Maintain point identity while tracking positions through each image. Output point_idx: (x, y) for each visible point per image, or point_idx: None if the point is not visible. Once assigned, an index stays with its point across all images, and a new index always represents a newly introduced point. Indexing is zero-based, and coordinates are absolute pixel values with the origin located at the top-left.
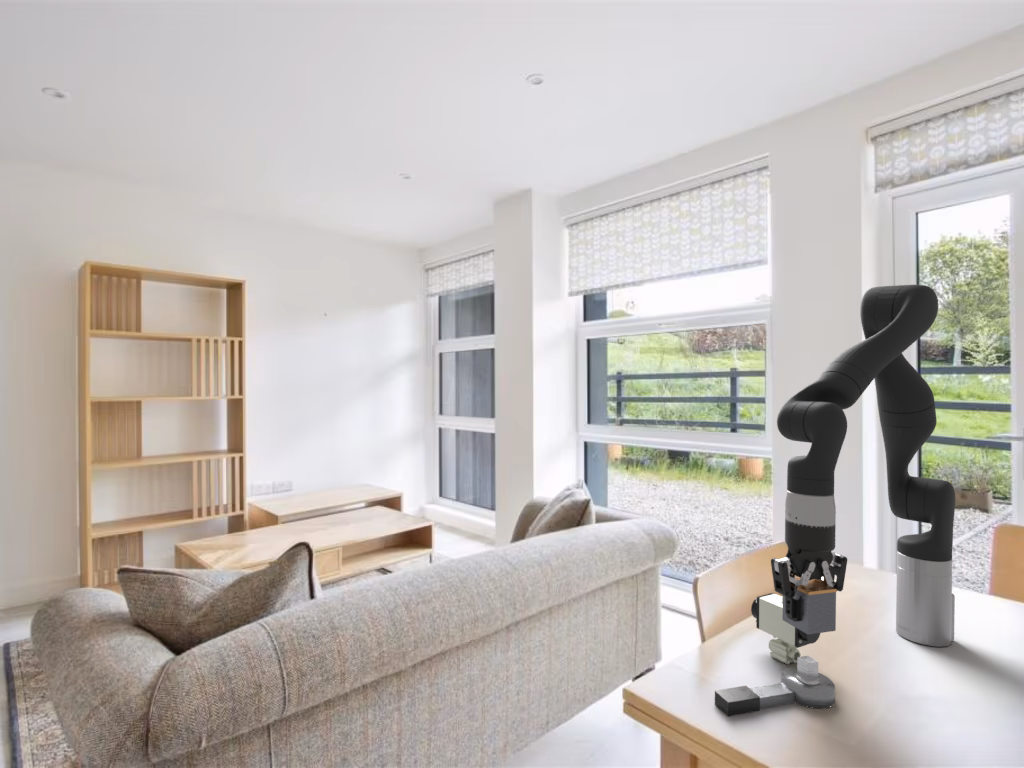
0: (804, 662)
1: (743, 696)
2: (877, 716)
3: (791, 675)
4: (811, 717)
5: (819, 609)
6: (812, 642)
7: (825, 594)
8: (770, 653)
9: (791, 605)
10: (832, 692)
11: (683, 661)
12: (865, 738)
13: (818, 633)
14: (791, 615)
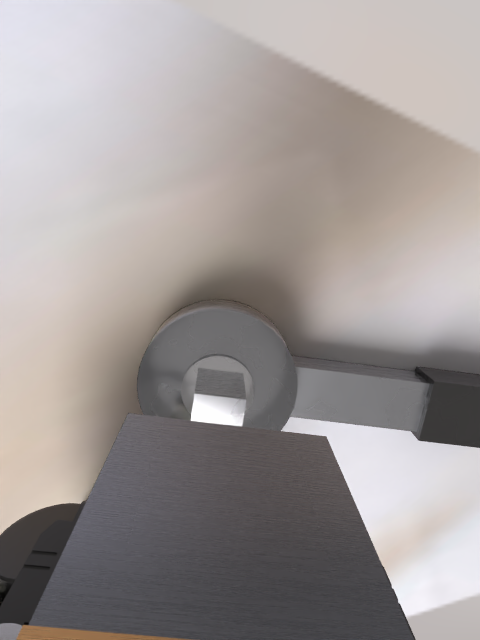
0: (243, 412)
1: (476, 401)
2: (117, 210)
3: (243, 425)
4: (310, 287)
5: (256, 522)
6: (72, 505)
7: (186, 626)
8: None
9: (411, 631)
10: (199, 311)
11: (403, 610)
12: (258, 154)
13: (20, 528)
14: (383, 568)
